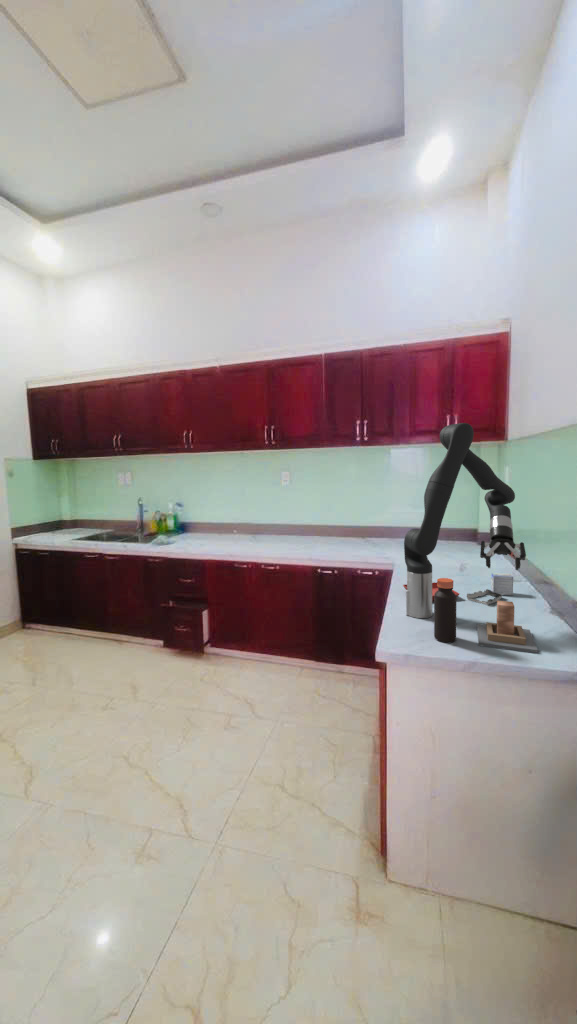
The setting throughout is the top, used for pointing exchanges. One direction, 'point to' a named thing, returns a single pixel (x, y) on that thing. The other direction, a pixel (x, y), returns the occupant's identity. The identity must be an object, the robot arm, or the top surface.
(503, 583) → the medicine box
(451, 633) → the bottle
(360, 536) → the top surface
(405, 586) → the plant saucer
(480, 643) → the socket dock
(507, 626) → the terracotta post
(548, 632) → the top surface
